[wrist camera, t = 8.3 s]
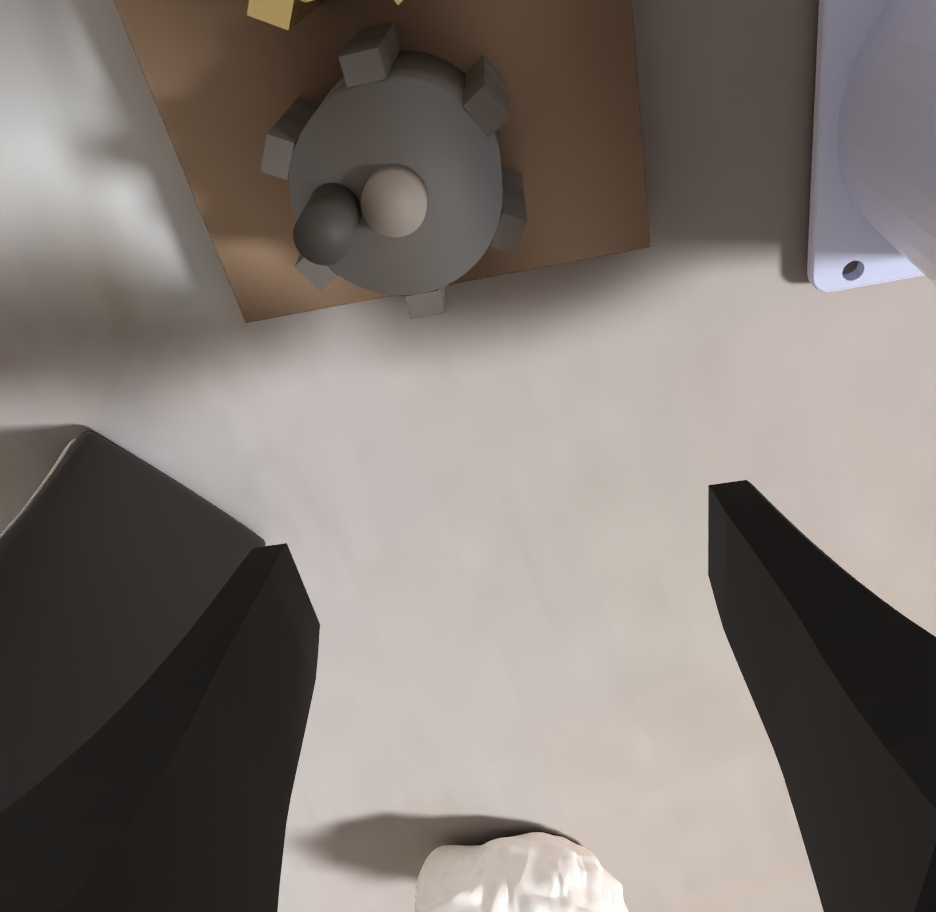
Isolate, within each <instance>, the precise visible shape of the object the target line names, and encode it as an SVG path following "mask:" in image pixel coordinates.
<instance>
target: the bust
mask: <svg viewBox="0 0 936 912" xmlns="http://www.w3.org/2000/svg"><path fill="white" fill-rule="evenodd" d="M415 912H628V909H627V907H626V905H625V904H624V901H623V890H622V885H621V883H620V882H619V881H618V880H617V879H615V878H614V877H613V876H612V875H611V874H610V873H609V872H608V871H606V870H605V869H604V868H603V867H602V866H601V865H600V863H599V861H598V860H597V858H596V857H595V856H594V855H593V854H592V853H591V852H590V851H589V850H587V849H586V848H584V847H582V846H580V845H577V844H575V843H573V842H571V841H569V840H568V839H566V838H564V837H562V836H553V835H550V834H547V833H543V832H531V833H526V834H522V835H516V836H511V837H502V838H497V839H494V840H491V841H488V842H486V843H485V844H483V845H475V846H461V845H445V846H440V847H438V848H436V849H435V850H433V851H432V852H431V853H430V854H429V856H428V857H427V858H426V860H425V862H424V864H423V866H422V868H421V870H420V873H419V876H418V880H417V884H416V897H415Z"/></svg>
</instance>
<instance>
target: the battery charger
mask: <svg viewBox="0 0 936 912" xmlns="http://www.w3.org/2000/svg"><path fill="white" fill-rule="evenodd" d="M264 546H265V541H264V540H263V539H262V538H261V537H259V536H258V535H257V534H255V533H254V532H252V531H251V530H249V529H248V528H246V527H245V526H243V525H242V524H241V523H239V522H238V521H236V520H235V519H233V518H232V517H230V516H229V515H227V514H226V513H224V512H223V511H221V510H220V509H218V508H217V507H215V506H214V505H212V504H211V503H209V502H208V501H206V500H205V499H203V498H201V497H200V496H198V495H197V494H195V493H194V492H192V491H191V490H189V489H188V488H186V487H185V486H183V485H181V484H180V483H178V482H176V481H175V480H173V479H172V478H170V477H168V476H167V475H165V474H163V473H162V472H160V471H159V470H157V469H155V468H154V467H152V466H150V465H149V464H147V463H146V462H144V461H142V460H141V459H139V458H137V457H136V456H134V455H132V454H131V453H129V452H127V451H125V450H124V449H122V448H120V447H119V446H117V445H115V444H113V443H112V442H110V441H108V440H106V439H105V438H103V437H101V436H100V435H98V434H96V433H94V432H89V431H88V432H84V433H83V434H81V435H80V436H79V437H78V438H77V439H73V440H72V441H70V442H69V444H68V445H67V446H66V447H65V449H64V450H63V452H62V453H61V455H60V457H59V458H58V460H57V461H56V463H55V464H54V466H53V467H52V469H51V470H50V472H49V473H48V475H47V476H46V478H45V479H44V480H43V482H42V483H41V485H40V486H39V487H38V489H37V490H36V491H35V493H34V494H33V495H32V497H31V498H30V500H29V501H28V502H27V504H26V505H25V506H24V507H23V509H22V510H21V511H20V512H19V514H18V515H17V516H16V517H15V518H14V519H13V520H12V522H11V523H10V524H9V525H8V526H7V527H6V528H5V530H4V531H3V532H2V533H1V534H0V813H1V812H3V811H4V810H5V809H7V808H8V807H9V806H10V805H12V804H13V803H14V802H16V801H17V800H18V799H19V798H21V797H22V796H23V795H24V794H26V793H27V792H28V791H29V790H31V789H32V788H33V787H34V786H36V785H37V784H38V783H39V782H40V781H42V780H43V779H44V778H45V777H46V776H47V775H49V774H50V773H51V772H52V771H53V770H54V769H55V768H57V767H58V766H59V765H60V764H61V763H62V762H63V761H65V760H66V759H67V758H68V757H69V756H70V755H71V754H73V753H74V752H75V751H76V750H77V749H78V748H79V747H81V746H82V745H83V744H84V743H85V742H86V741H87V740H88V739H90V738H91V737H92V736H93V735H94V734H95V733H96V732H97V731H98V730H99V729H100V728H101V727H102V726H103V725H104V724H105V723H106V722H107V721H108V720H109V719H110V718H111V717H112V716H113V715H114V714H115V713H116V712H117V711H118V710H119V709H120V708H121V707H122V706H123V705H124V704H125V703H126V702H127V701H128V700H129V699H130V698H131V697H132V696H133V695H134V694H135V693H136V692H137V691H138V690H139V688H140V687H141V686H142V685H143V684H144V683H145V682H146V681H147V680H148V678H149V677H150V676H151V675H152V674H153V673H154V671H155V670H156V669H157V668H158V667H159V666H160V665H161V663H162V662H163V661H164V660H165V659H166V658H167V656H168V655H169V654H170V653H171V652H172V651H173V649H174V648H175V647H176V646H177V645H178V644H179V643H180V641H181V640H182V639H183V638H184V636H185V635H186V634H187V633H188V631H189V630H190V629H191V628H192V626H193V625H194V624H195V623H196V621H197V620H198V619H199V618H200V616H201V615H202V614H203V612H204V611H205V610H206V609H207V607H208V606H209V605H210V603H211V602H212V601H213V599H214V598H215V597H216V596H217V594H218V593H219V592H220V590H221V589H222V588H223V586H224V585H225V584H226V582H227V581H228V580H229V578H230V577H231V576H232V575H233V573H234V572H235V571H236V569H237V568H238V567H239V565H240V564H241V563H242V561H243V560H244V559H245V558H246V556H247V555H248V554H249V553H250V551H251V550H252V549H253V548H257V547H264Z"/></svg>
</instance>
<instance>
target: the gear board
mask: <svg viewBox="0 0 936 912" xmlns="http://www.w3.org/2000/svg"><path fill="white" fill-rule="evenodd" d="M114 2H115V5H116V7H117V10H118V12H119V14H120V17H121V19H122V22H123V24H124V27H125V29H126V32H127V34H128V36H129V39H130V41H131V44H132V46H133V49H134V51H135V54H136V56H137V58H138V61H139V63H140V66H141V68H142V71H143V73H144V75H145V78H146V80H147V83H148V85H149V88H150V90H151V93H152V95H153V97H154V100H155V102H156V105H157V107H158V110H159V112H160V115H161V117H162V119H163V122H164V124H165V127H166V129H167V132H168V134H169V136H170V139H171V141H172V144H173V146H174V149H175V151H176V154H177V156H178V158H179V161H180V163H181V166H182V168H183V171H184V173H185V176H186V178H187V180H188V183H189V185H190V188H191V190H192V193H193V195H194V198H195V200H196V202H197V205H198V207H199V210H200V212H201V215H202V217H203V219H204V222H205V224H206V227H207V229H208V232H209V234H210V237H211V239H212V241H213V244H214V246H215V249H216V251H217V254H218V256H219V259H220V261H221V263H222V266H223V268H224V271H225V273H226V276H227V278H228V280H229V283H230V285H231V288H232V290H233V293H234V295H235V298H236V300H237V302H238V305H239V307H240V310H241V312H242V315H243V317H244V320H245V322H246V323H248V322H254V321H259V320H264V319H269V318H275V317H280V316H285V315H291V314H296V313H301V312H307V311H312V310H317V309H323V308H328V307H333V306H338V305H344V304H349V303H354V302H360V301H365V300H370V299H376V298H381V297H386V296H391V295H405V300H406V304H407V307H408V311H409V315H410V318H411V319H412V318H418V317H423V316H429V315H434V314H439V313H444V304H445V293H446V285H450V284H455V283H460V282H466V281H471V280H476V279H482V278H487V277H492V276H498V275H503V274H508V273H513V272H519V271H524V270H529V269H535V268H540V267H545V266H551V265H556V264H561V263H567V262H572V261H577V260H582V259H588V258H593V257H598V256H604V255H609V254H614V253H620V252H625V251H630V250H636V249H641V248H646V247H650V237H649V224H648V210H647V197H646V184H645V171H644V158H643V145H642V132H641V119H640V106H639V92H638V79H637V66H636V53H635V40H634V27H633V14H632V1H631V0H403V1H402V2H401V3H400V4H399V5H397V3H396V2H395V1H394V0H320V2H319V7H318V8H316V9H315V10H314V11H313V12H311V13H310V14H309V15H307V16H306V17H305V18H304V19H302V20H301V21H300V22H299V23H297V24H296V25H295V26H294V27H292V28H291V29H290V30H286V29H283V28H280V27H278V26H275V25H272V24H269V23H267V22H264V21H261V20H259V19H256V18H253V17H250V16H248V15H247V11H248V4H249V0H114Z"/></svg>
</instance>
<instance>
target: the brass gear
mask: <svg viewBox="0 0 936 912" xmlns="http://www.w3.org/2000/svg"><path fill="white" fill-rule="evenodd" d="M394 1H395V2H396V3H397V5H399V4H400V3H401V2H402V1H403V0H394ZM319 2H320V0H249V4H248V11H247V15H248V16H250V17H253V18H256V19H259V20H261V21H264V22H267V23H269V24H272V25H275V26H278V27H280V28H283V29H286V30H290V29H291V28H292V27H294V26H295V25H296V24H297V23H299V22H300V21H301V20H302V19H304V18H305V17H306V16H307V15H309V14H310V13H311V12H313V11H314V10H315V9H316V8H318V7H319Z"/></svg>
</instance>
